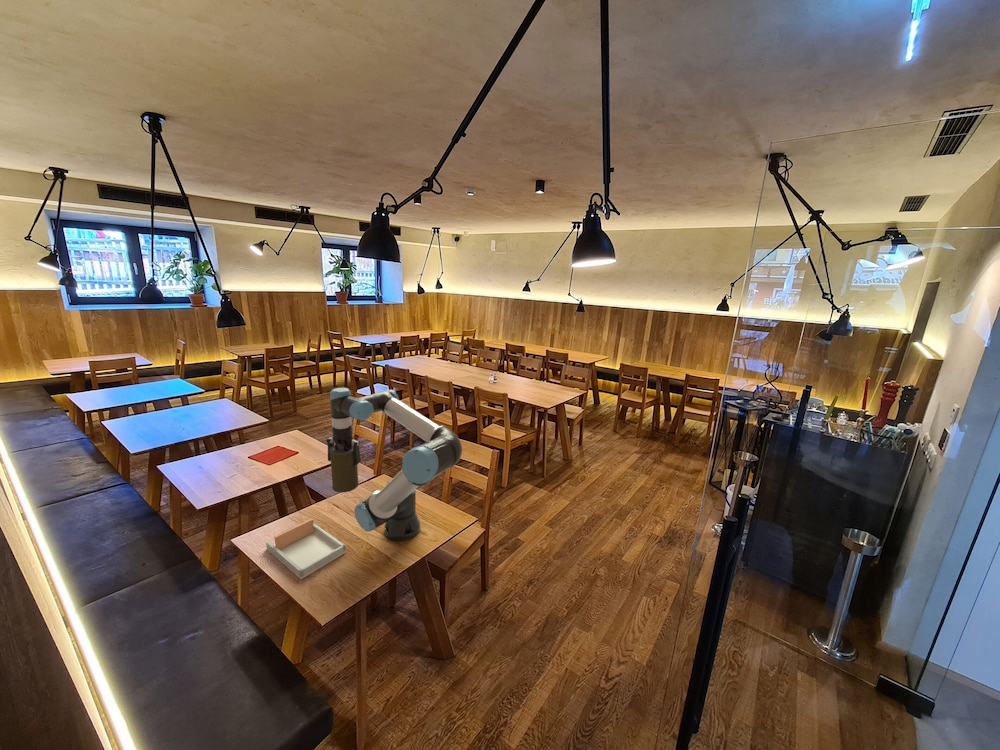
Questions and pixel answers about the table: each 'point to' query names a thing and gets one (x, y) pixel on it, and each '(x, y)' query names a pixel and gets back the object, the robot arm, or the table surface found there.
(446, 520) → the table surface
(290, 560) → the white tray
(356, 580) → the table surface
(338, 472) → the canister
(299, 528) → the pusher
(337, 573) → the table surface
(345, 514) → the table surface
